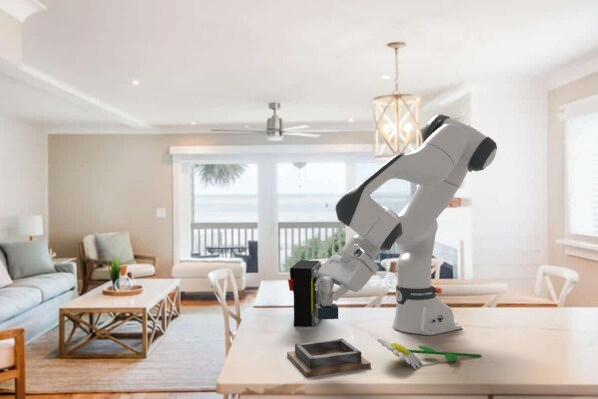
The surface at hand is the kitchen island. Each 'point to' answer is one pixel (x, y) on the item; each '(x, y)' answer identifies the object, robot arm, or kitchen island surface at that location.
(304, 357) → the dock
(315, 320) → the electrical component
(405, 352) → the decorative flower
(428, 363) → the kitchen island surface
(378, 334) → the kitchen island surface
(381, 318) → the kitchen island surface
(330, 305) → the watch
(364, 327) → the kitchen island surface
